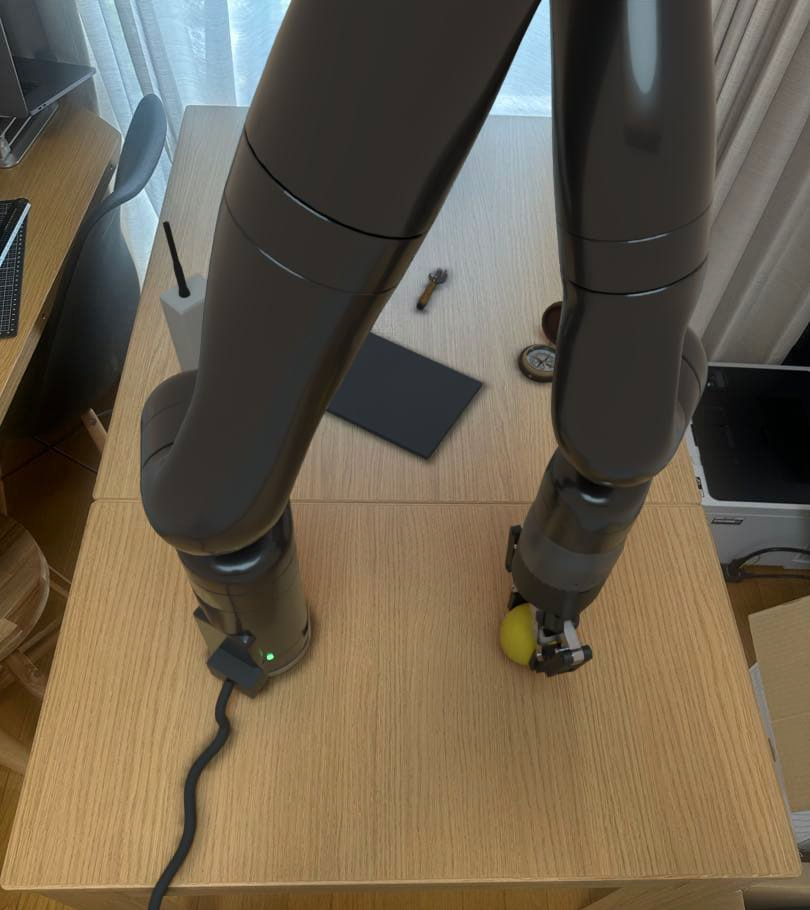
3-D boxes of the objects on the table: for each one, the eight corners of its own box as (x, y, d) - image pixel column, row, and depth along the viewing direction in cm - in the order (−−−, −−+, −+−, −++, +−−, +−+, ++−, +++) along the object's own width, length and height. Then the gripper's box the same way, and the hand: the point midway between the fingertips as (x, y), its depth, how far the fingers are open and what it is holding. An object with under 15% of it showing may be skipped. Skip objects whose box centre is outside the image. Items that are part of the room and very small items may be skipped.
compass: (508, 368, 95) (518, 325, 89) (541, 335, 99) (552, 291, 92) (562, 398, 93) (576, 355, 87) (593, 363, 96) (608, 319, 90)
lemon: (546, 682, 73) (564, 649, 66) (490, 670, 73) (503, 636, 66) (551, 632, 76) (569, 595, 69) (498, 621, 76) (510, 584, 69)
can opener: (422, 311, 100) (423, 304, 99) (407, 305, 100) (407, 298, 99) (451, 273, 104) (452, 266, 103) (436, 268, 105) (437, 261, 104)
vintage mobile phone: (243, 400, 90) (204, 216, 69) (211, 422, 88) (161, 240, 67) (223, 384, 92) (179, 199, 70) (191, 405, 90) (136, 221, 68)
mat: (427, 460, 87) (427, 457, 86) (273, 385, 92) (273, 381, 91) (482, 385, 93) (482, 382, 93) (335, 319, 99) (335, 316, 98)
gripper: (493, 481, 60) (469, 581, 75) (555, 639, 53) (516, 716, 67) (578, 465, 61) (539, 566, 76) (651, 617, 54) (592, 697, 69)
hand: (528, 636), depth 71 cm, fingers closed on lemon, 5 cm apart
